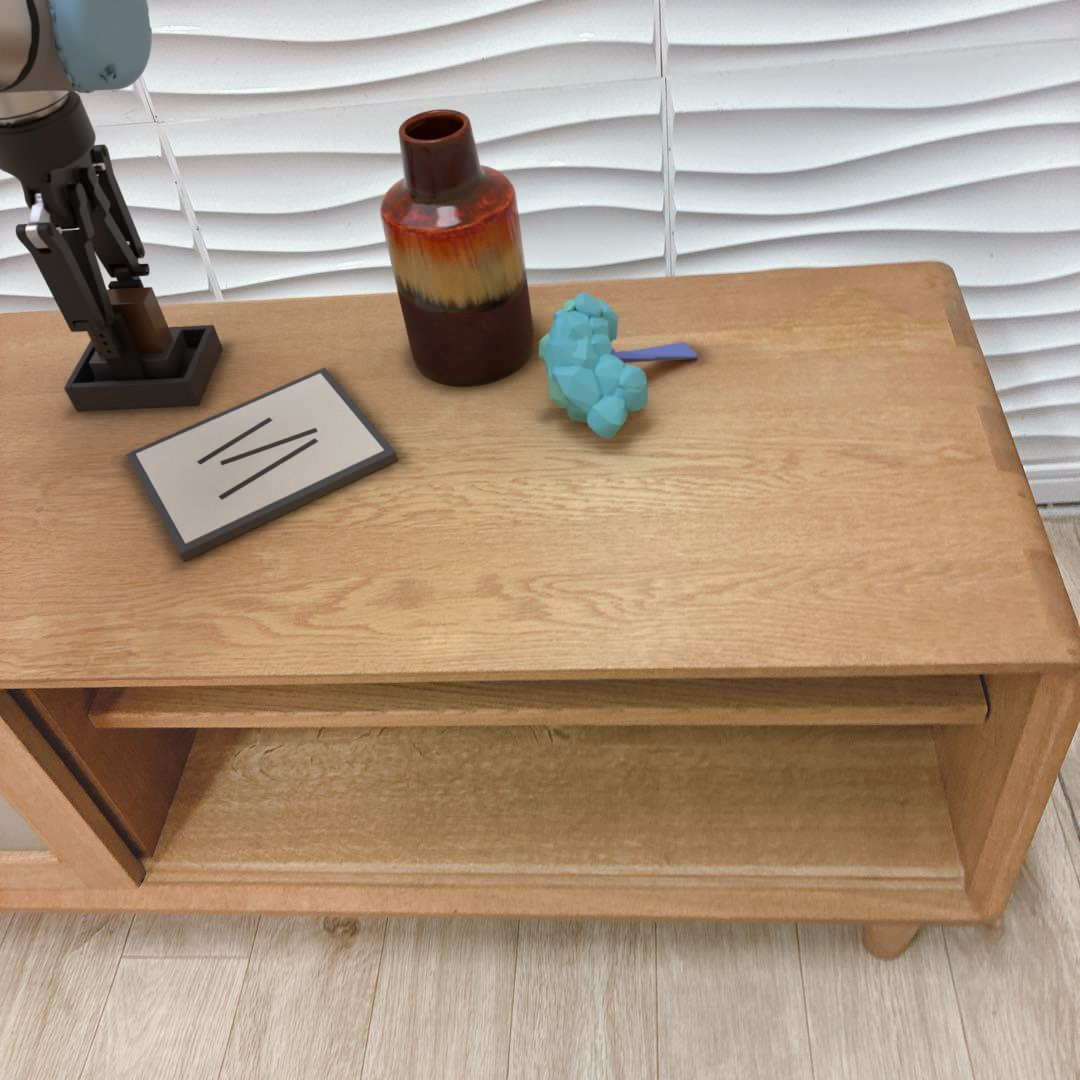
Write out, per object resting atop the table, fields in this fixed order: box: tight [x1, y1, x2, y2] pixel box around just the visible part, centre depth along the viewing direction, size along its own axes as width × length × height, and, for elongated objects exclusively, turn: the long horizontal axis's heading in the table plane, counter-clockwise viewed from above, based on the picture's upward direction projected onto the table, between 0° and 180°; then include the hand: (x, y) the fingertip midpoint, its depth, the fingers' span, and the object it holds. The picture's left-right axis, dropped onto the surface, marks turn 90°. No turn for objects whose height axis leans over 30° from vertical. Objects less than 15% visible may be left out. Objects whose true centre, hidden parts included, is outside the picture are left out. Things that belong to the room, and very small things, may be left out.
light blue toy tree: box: [526, 292, 698, 439], centre depth 87 cm, size 11×9×15 cm
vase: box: [379, 108, 535, 387], centre depth 87 cm, size 11×11×20 cm
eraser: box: [86, 286, 188, 381], centre depth 93 cm, size 7×4×7 cm, turn 87°
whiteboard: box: [125, 367, 399, 562], centre depth 87 cm, size 18×14×1 cm
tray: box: [63, 324, 223, 412], centre depth 95 cm, size 11×8×3 cm
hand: (142, 361), depth 95 cm, fingers closed on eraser, 4 cm apart
